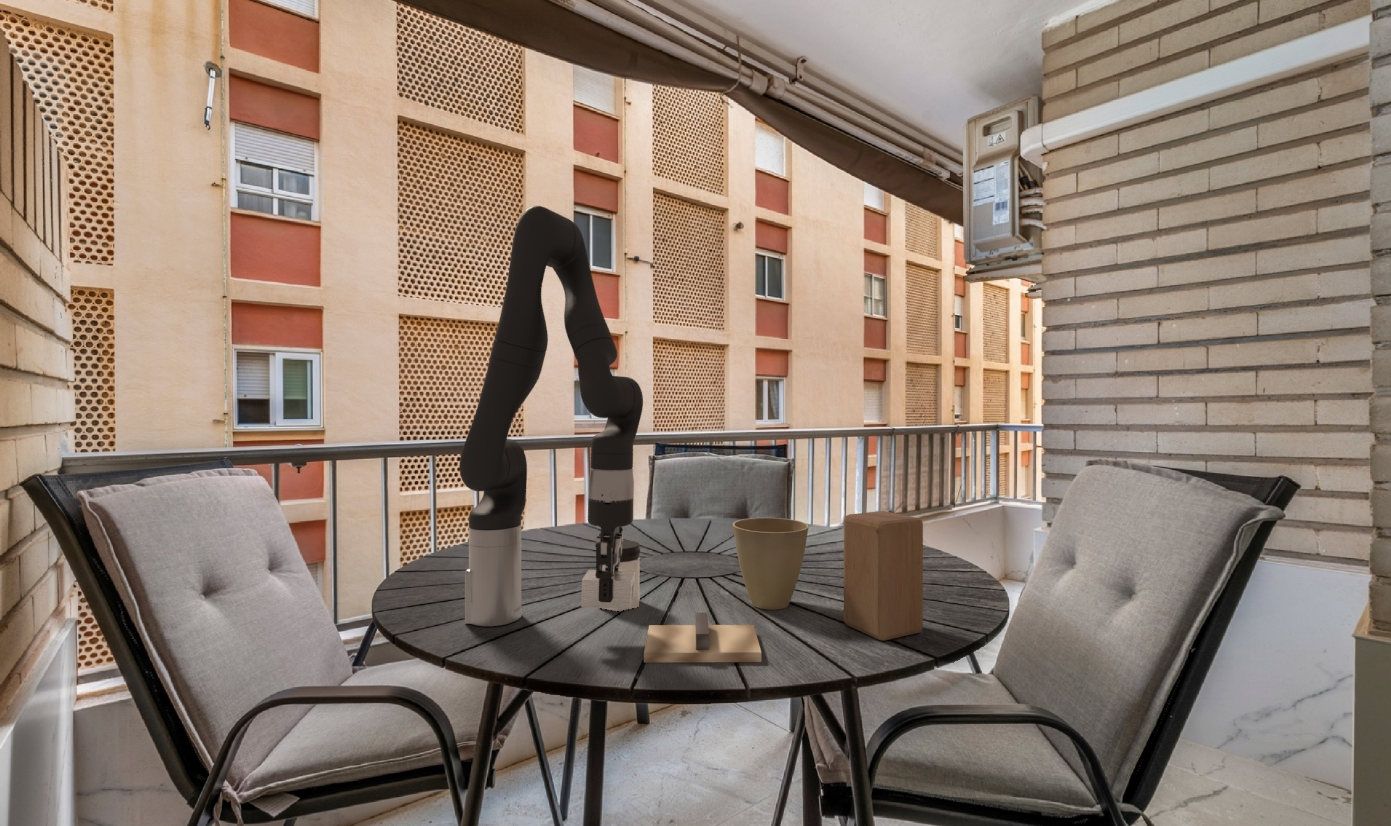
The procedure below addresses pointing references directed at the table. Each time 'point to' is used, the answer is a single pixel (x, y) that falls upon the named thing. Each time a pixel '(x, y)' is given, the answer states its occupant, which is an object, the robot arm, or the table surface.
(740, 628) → the stand
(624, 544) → the jar
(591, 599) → the notched grey block
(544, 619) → the table surface
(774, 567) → the plant pot
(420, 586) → the table surface
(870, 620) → the wooden block
